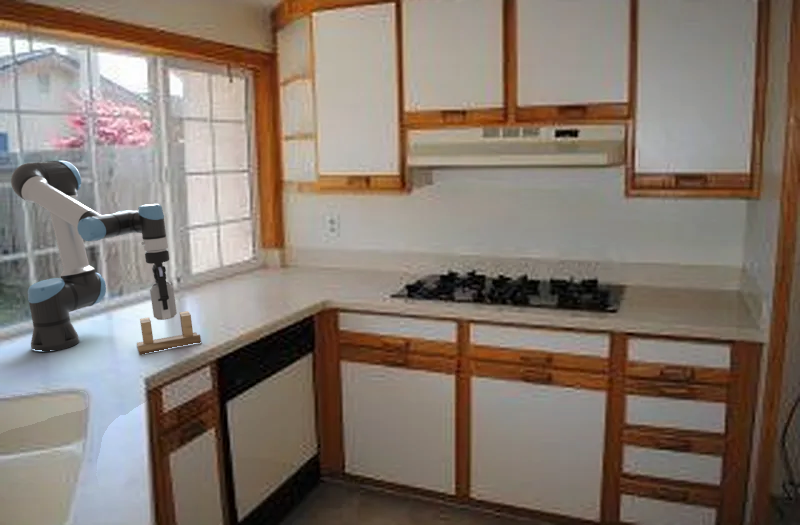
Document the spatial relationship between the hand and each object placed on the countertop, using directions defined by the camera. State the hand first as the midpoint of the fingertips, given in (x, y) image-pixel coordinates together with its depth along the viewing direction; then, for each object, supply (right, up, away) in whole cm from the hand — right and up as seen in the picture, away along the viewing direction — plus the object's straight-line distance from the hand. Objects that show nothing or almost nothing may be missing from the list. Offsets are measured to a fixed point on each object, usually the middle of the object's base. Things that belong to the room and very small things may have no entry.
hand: (165, 315), depth 221 cm
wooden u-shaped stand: (0, -10, +2) cm, 10 cm away
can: (0, -1, 0) cm, 1 cm away
